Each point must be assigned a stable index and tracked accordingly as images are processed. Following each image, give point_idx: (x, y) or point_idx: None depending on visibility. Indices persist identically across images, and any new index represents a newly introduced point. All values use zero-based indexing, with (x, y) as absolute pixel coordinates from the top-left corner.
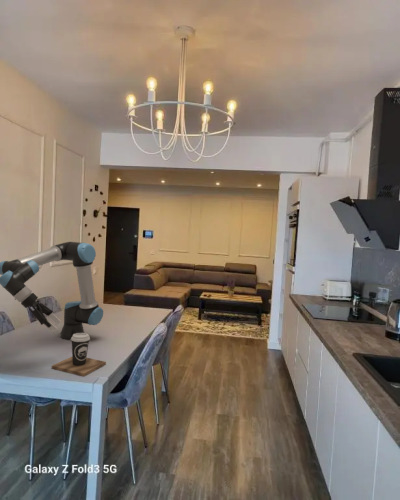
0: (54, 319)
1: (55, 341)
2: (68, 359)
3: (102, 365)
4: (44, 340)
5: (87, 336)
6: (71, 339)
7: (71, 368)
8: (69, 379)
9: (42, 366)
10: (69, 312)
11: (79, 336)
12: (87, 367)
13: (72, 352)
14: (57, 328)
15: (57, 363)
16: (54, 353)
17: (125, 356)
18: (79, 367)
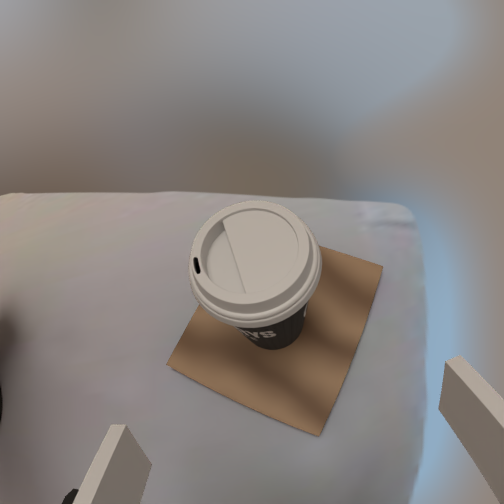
0: (119, 501)
1: (15, 459)
2: (227, 383)
3: None
4: (13, 494)
5: (268, 202)
6: (291, 311)
7: (342, 334)
8: (418, 314)
9: (294, 482)
10: None
11: (273, 250)
12: None
13: (288, 332)
14: (448, 362)
15: (286, 419)
16: None
17: (165, 192)
18: (324, 304)
